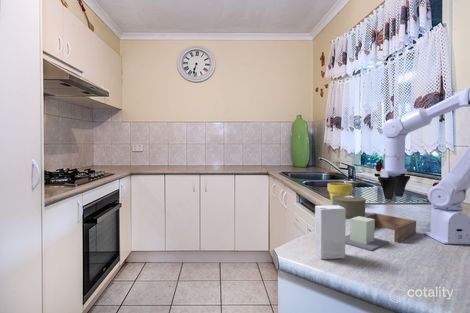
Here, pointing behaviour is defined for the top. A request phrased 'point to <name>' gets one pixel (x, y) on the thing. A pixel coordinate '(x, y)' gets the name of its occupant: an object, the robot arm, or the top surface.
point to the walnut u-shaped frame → (395, 225)
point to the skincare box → (330, 231)
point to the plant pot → (339, 189)
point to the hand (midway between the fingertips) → (393, 197)
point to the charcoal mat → (369, 246)
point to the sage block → (362, 229)
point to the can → (350, 205)
